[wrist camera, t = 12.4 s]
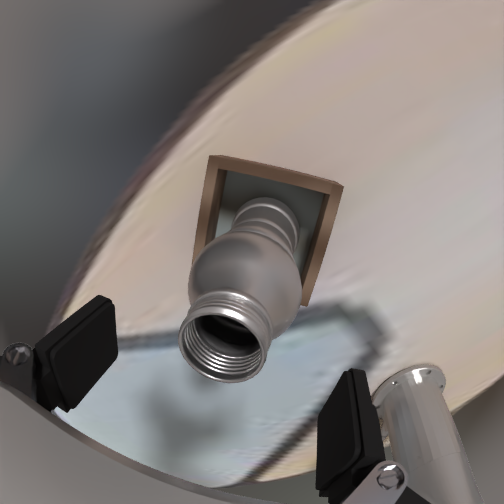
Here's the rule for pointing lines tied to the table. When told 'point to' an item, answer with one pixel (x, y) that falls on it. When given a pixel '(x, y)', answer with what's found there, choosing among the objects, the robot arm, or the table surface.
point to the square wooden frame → (280, 188)
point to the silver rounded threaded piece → (242, 293)
